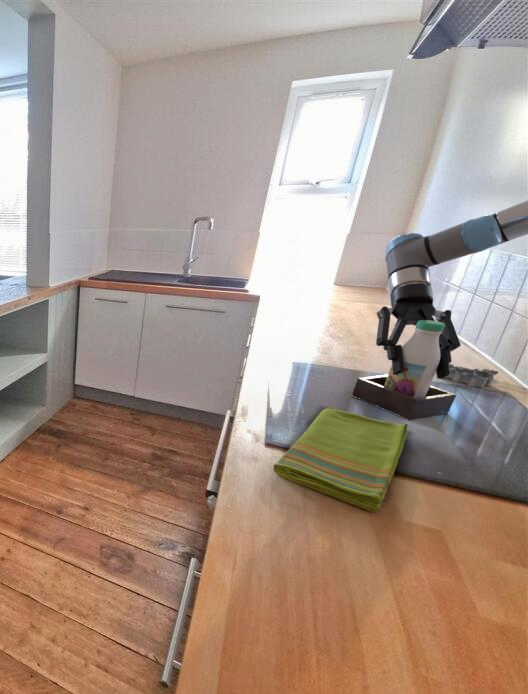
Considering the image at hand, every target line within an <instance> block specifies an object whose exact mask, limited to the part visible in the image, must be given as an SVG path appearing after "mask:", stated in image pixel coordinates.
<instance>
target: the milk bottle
mask: <svg viewBox="0 0 528 694" xmlns="http://www.w3.org/2000/svg"><path fill="white" fill-rule="evenodd" d="M444 327H445V324H444V323H442V322H437V321H436V320H435V321H431V320H419V321H418V322H417V324H416V326H415V328H414V330H415V331H414V333H413V334H412V336H411V337H410V338H409V339H408V340H407V341H406V342H405V343H404V344H402V354H403V363H404V371H402V372H401V373H399V374H398V375H394V374H393V367H392V365H391V366H390V369H389V372H388V373H387V375H388V376H387V379H386V381H385V384H384V387H387V388H389V389H392V390H395V391H397V392H400V393H403V394H405V395H408V396H411V397H413V398H421V397H425V396H426V394H427V391H428V389H429V387H430V386H431V384H432V382H433V380H434V377H435V375H436V370H437V367H438V364H439V361H440V348H439V335H440V334H441V333H442V331H443V330H444Z"/></svg>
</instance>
